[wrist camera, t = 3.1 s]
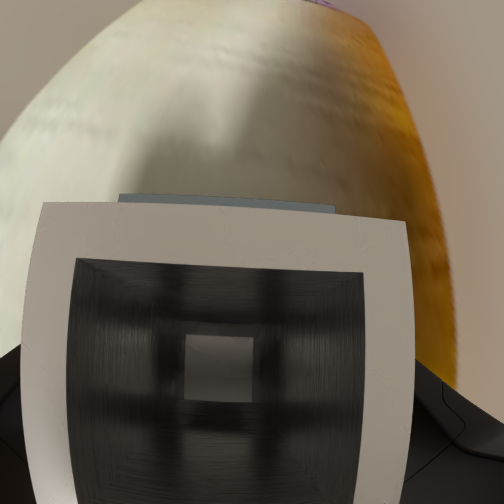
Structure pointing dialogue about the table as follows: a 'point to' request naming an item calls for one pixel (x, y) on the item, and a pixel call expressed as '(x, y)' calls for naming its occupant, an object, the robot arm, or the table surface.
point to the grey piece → (221, 325)
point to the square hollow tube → (216, 311)
